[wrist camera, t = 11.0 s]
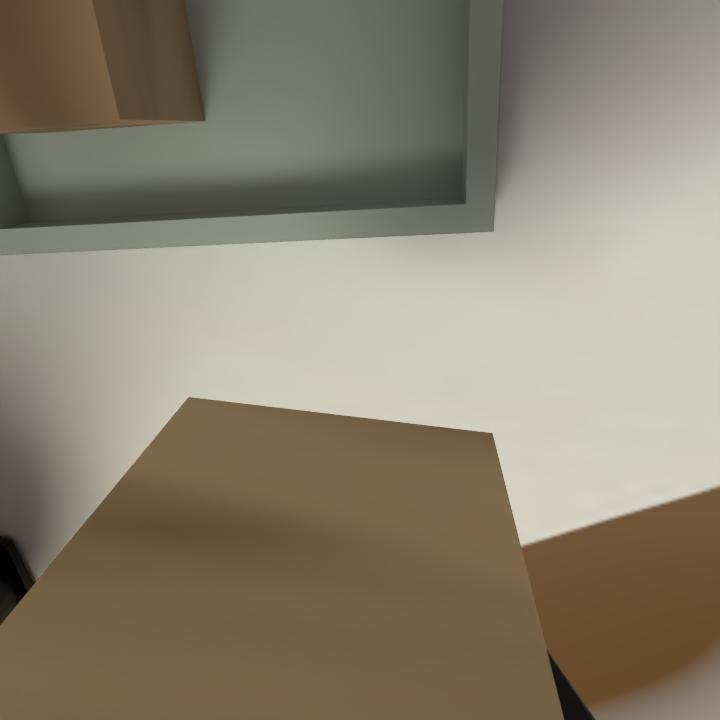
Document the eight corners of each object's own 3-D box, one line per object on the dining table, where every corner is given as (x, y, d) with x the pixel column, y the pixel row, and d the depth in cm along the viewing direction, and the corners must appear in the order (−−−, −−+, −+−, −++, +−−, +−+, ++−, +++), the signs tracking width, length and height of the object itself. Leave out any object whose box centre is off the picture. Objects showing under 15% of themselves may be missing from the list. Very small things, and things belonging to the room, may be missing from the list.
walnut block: (52, 132, 16) (-90, 135, 11) (-5, -67, 14) (-206, -160, 9) (205, 121, 15) (119, 119, 11) (169, -89, 13) (45, -198, 9)
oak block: (445, 641, 10) (469, 1045, 6) (204, 606, 11) (46, 967, 6) (492, 433, 8) (587, 814, 4) (188, 397, 8) (-71, 710, 4)
